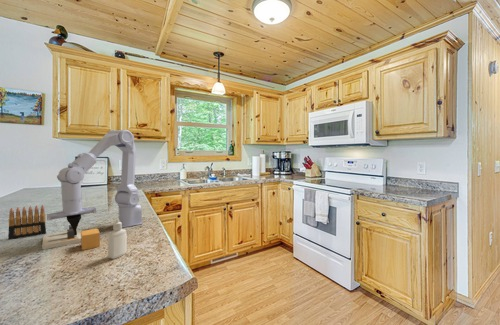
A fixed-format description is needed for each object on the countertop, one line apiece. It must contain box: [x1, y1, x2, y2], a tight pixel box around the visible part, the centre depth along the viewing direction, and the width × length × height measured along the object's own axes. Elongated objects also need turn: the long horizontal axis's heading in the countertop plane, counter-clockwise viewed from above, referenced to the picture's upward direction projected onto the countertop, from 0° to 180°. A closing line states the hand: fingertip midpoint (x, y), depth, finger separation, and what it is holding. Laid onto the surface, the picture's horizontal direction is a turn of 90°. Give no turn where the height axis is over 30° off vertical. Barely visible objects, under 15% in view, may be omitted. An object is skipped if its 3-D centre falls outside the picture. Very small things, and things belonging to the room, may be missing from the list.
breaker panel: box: [41, 229, 81, 251], centre depth 86 cm, size 11×13×2 cm
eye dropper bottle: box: [107, 218, 128, 260], centre depth 73 cm, size 4×6×12 cm
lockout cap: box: [80, 228, 101, 251], centre depth 81 cm, size 5×6×5 cm
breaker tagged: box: [66, 228, 74, 239], centre depth 85 cm, size 2×3×3 cm, turn 41°
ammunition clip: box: [7, 204, 47, 241], centre depth 90 cm, size 11×2×12 cm, turn 129°
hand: (74, 234), depth 85 cm, fingers closed, pressing on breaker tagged
